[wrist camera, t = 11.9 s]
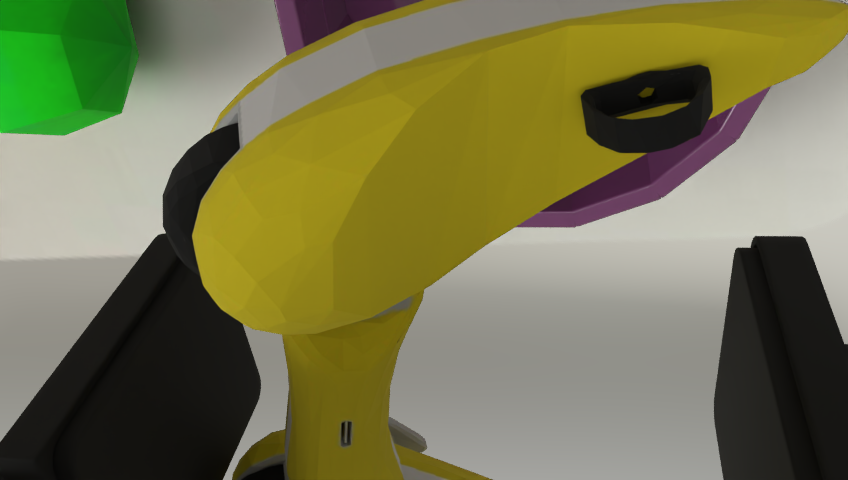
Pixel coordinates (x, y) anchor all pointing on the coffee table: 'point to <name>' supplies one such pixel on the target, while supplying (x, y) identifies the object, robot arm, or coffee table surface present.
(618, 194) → the bowl
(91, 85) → the apple
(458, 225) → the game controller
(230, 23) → the coffee table surface
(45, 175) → the coffee table surface
